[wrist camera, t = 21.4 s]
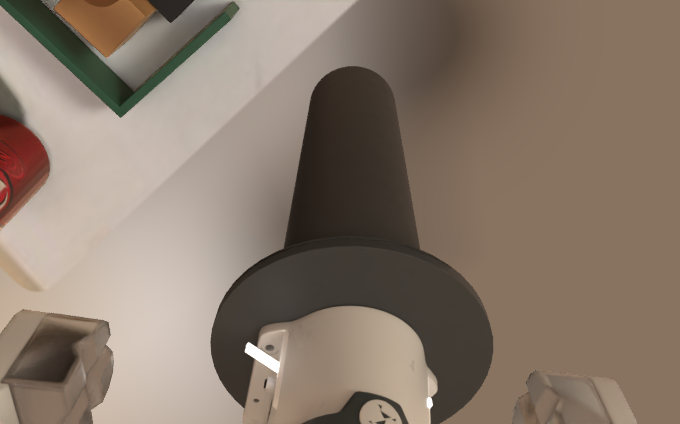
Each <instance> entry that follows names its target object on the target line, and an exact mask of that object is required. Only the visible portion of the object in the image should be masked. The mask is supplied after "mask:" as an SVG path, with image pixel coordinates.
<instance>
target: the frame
mask: <svg viewBox="0 0 680 424" xmlns="http://www.w3.org/2000/svg"><path fill="white" fill-rule="evenodd" d="M0 6H2V7H3V8H4V9H5V10H6V11H7V12H8V13H9V14H10V15H11V16H12V17H13V18H14V19H15V20H17V21H18V22H19V23H20V24H21V25H22V26H23V27H24V28H25V29H26V30H27V31H28V32H29V33H30V34H32V35H33V36H34V37H35V38H36V39H37V40H38V41H39V42H40V43H41V44H42V45H43V46H44V47H45V48H46V49H48V50H49V51H50V52H51V53H52V54H53V55H54V56H55V57H56V58H57V59H58V60H59V61H60V62H61V63H63V64H64V65H65V66H66V67H67V68H68V69H69V70H70V71H71V72H72V73H73V74H74V75H75V76H76V77H77V78H79V79H80V80H81V81H82V82H83V83H84V84H85V85H86V86H87V87H88V88H89V89H90V90H91V91H92V92H94V93H95V94H96V95H97V96H98V97H99V98H100V99H101V100H102V101H103V102H104V103H105V104H106V105H107V106H108V107H110V108H111V109H112V110H113V111H114V112H115V113H116V114H117V115H118V116H119V117H120V118H121V117H122V116H124V115H125V114H126V113H127V112H128V111H129V110H130V109H131V108H132V107H134V106H135V105H136V104H137V103H138V102H139V101H140V100H141V99H143V98H144V97H145V96H146V95H147V94H148V93H149V92H150V91H152V90H153V89H154V88H155V87H156V86H157V85H158V84H159V83H161V82H162V81H163V80H164V79H165V78H166V77H167V76H168V75H170V74H171V73H172V72H173V71H174V70H175V69H176V68H177V67H178V66H180V65H181V64H182V63H183V62H184V61H185V60H186V59H187V58H189V57H190V56H191V55H192V54H193V53H194V52H195V51H196V50H198V49H199V48H200V47H201V46H202V45H203V44H204V43H205V42H207V41H208V40H209V39H210V38H211V37H212V36H213V35H214V34H215V33H217V32H218V31H219V30H220V29H221V28H222V27H223V26H224V25H226V24H227V23H228V22H229V21H230V20H231V19H232V18H233V16H234V15H235V14H236V12H237V11H238V10H239V7H238V6H237V5H236V4H235V2H232V3H231V4H230V5H229V6H228V7H227V8H225V9H224V10H223V11H222V12H221V13H220V14H219V15H218V16H217V17H216V18H214V19H213V20H212V21H211V22H210V23H209V24H208V25H207V26H206V27H204V28H203V29H202V30H201V31H200V32H199V33H198V34H197V35H196V36H195V37H193V38H192V39H191V40H190V41H189V42H188V43H187V44H186V45H185V46H184V47H182V48H181V49H180V50H179V51H178V52H177V53H176V54H175V55H174V56H172V57H171V58H170V59H169V60H168V61H167V62H166V63H165V64H164V65H163V66H161V67H160V68H159V69H158V70H157V71H156V72H155V73H154V74H153V75H152V76H150V77H149V78H148V79H147V80H146V81H145V82H144V83H143V84H142V85H140V86H139V87H138V88H137V89H136V90H135V91H134V92H133V91H132V90H131V89H130V88H129V87H128V86H127V85H126V84H125V83H124V82H123V81H122V80H121V79H120V78H119V77H118V76H117V75H116V74H115V73H114V72H113V71H112V70H111V69H110V68H109V67H108V66H107V65H106V64H105V63H104V62H103V61H102V60H100V59H99V58H98V57H97V56H96V55H95V54H94V53H93V52H92V51H91V50H90V49H89V48H88V47H87V46H86V45H85V44H84V43H83V42H82V41H81V40H80V39H79V38H78V37H77V36H76V35H75V34H74V33H73V32H72V31H71V30H70V29H69V28H68V27H67V26H66V25H65V24H63V23H62V22H61V21H60V20H59V19H58V18H57V17H56V16H55V15H54V14H53V13H52V12H51V11H50V10H49V9H48V8H47V7H46V6H45V5H44V4H43V3H42V2H41V1H40V0H0Z"/></svg>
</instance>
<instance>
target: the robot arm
mask: <svg viewBox="0 0 680 424" xmlns="http://www.w3.org/2000/svg"><path fill="white" fill-rule="evenodd" d="M110 335H111V334H110V328H109V323H108V322H107V321H104V320H98V319H91V318H84V317H77V316H70V315H63V314H55V313H46V312H39V311H31V310H24V309H23V310H21V311H20V312H18V313H17V314H15V315H14V316H13V318H12V319H11V320H10V322H9V323H8V325H7V326H6V327H5V328H4V330H3V331H2V332H1V334H0V424H93V420H92V413H91V409H93V408H94V407H96V406H97V405H99V404H100V403H102V402H103V400H104V398H105V395H106V393H107V391H108V388H109V385H110V381H111V377H112V373H113V362H114V361H113V352H112V351H111V349H110V348H109V347H108V346H106V343H107V341H108V339H109V337H110ZM245 352H246V353H248V354H249V355H251V356H252V357H254V362H253V368H252V373H251V378H250V383H249V388H248V393H247V398H246V403H245V408H244V414H243V424H431V421H430V407H431V406H432V400H431V397H432V396H433V395H434V394H435V393H436V392H437V389H438V387H437V379H436V377H435V375H434V374H433V373H432V371H431V370H430V369H429V368H428V367H427V365H426V361H425V354H424V348H423V345H422V343H421V340H420V339H419V337H418V335H417V334H416V333H415V331H414V330H413V329H412V328H411V327H410V326H409V325H407V324H406V323H405V322H404V321H402V320H401V319H399V318H397V317H395V316H394V315H391V314H389V313H387V312H384V311H381V310H378V309H374V308H369V307H363V306H336V307H330V308H325V309H322V310H318V311H315V312H313V313H310V314H308V315H306V316H304V317H302V318H300V319H297V320H294V321H290V322H280V323H273V324H268V325H265V326H264V327H262V328H261V330H260V332H259V337H258V342H257V347H255V346H253V345H252V344H250V343H248V344H247V346H246V350H245ZM526 385H527V388H528V391H529V392H528V393H526V394H524V395H522V396H521V397H519V398H518V400H517V402H516V405H515V407H514V409H513V418H512V424H637V421H636V420H635V417H634V416H633V414H632V412H631V410H630V408H629V406H628V404H627V402H626V400H625V398H624V396H623V394H622V392H621V390H620V388H619V386H618V384H617V383H616V382H615V381H614V380H612V379H610V378H602V377H593V376H583V375H576V374H566V373H556V372H547V371H537V370H535V371H534V372H533V373H531V374H530V376H529V378H528V380H527V382H526Z"/></svg>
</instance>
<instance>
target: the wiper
mask: <svg viewBox="0 0 680 424" xmlns="http://www.w3.org/2000/svg"><path fill="white" fill-rule="evenodd" d="M84 1H86V2H87V3H89V4H91V5H93V6H97V7H107V6H110V5H112V4H114V3H115V2H117V1H119V0H84ZM148 1H149V2H150V3H151V4H152V5H153V6H154V7H155V8H156V9H157V10H158V11H159V12H160V13H161V14H162V15H163V16H164V17H165V18H166V19H167V20H168V21H169V22H170V23H171V22H173V21H174V20H175V19H176V18H177V17H178V16H179V15H180V14H181V13H182V12H183V11H184V10H185V9H186V8H187V7H188V6H189V5H190V4H191V3H192V2H193V1H194V0H148Z"/></svg>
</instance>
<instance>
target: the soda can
mask: <svg viewBox="0 0 680 424" xmlns="http://www.w3.org/2000/svg"><path fill="white" fill-rule="evenodd" d="M49 171H50V163H49V158H48V154H47V152H46V150H45V148H44V146H43V144H42V143H41V141H40V140H39V139H38V137H37V136H36V135H35V134H34V133H33V132H32V131H31V130H30V129H28V128H27V127H26V126H24V125H23V124H22V123H20V122H18V121H16V120H14V119H12V118H10V117H7V116H5V115H1V114H0V231H1V230H2V228H3V227H4V226H5V225H6V224H7V223H8V222H9V221H10V220H11V219H12V218H13V217H14V216H15V215H16V214H17V213H18V212H19V211H20V209H21V208H22V207H23V206H24V205H25V204H26V203H27V202H28V201H29V200H30V199H31V198H32V197H33V196H34V195H35V194H36V193H37V192H38V190H39V189H40V188H41V187H42V186H43V185H44V184H45V182H46V180H47V178H48V176H49Z"/></svg>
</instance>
